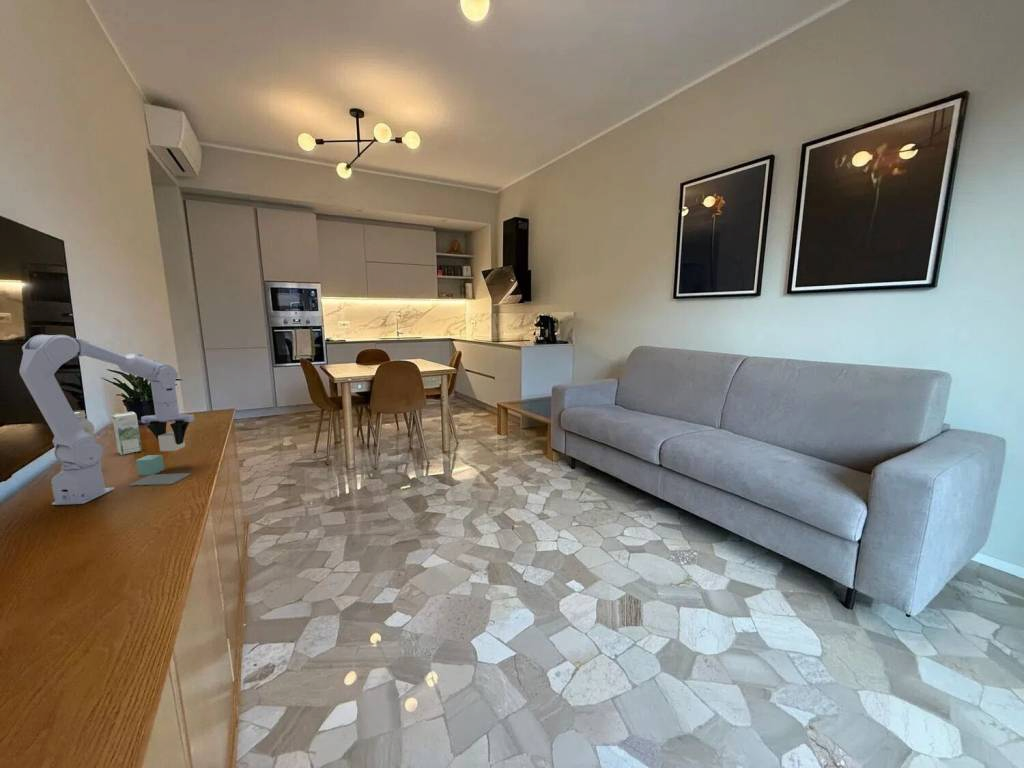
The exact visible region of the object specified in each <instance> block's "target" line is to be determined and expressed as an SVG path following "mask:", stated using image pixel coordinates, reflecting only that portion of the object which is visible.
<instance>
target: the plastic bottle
mask: <svg viewBox="0 0 1024 768" xmlns="http://www.w3.org/2000/svg"><path fill="white" fill-rule="evenodd" d="M73 412H74V414H75V416H76V418H77V420H78V422H79V424H80V425H81V427H82V429H83V430H84V431H85V432H86V433H88V434H89V435H90V436H91V437H92V439H93V441H94V442H95V425H94V423H93V422H91V421H90V420H89V419H87V418H86V417H87V415H86V412H85V410H83V409H82V410H81V409H79V410H73ZM101 463H102V462H101V461H100V464H101Z"/></svg>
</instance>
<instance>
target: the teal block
mask: <svg viewBox="0 0 1024 768" xmlns="http://www.w3.org/2000/svg"><path fill="white" fill-rule="evenodd" d="M163 457H164V456H163V454H154V455H153V454H152V455H151V454H149V455H148V454H147V455H146V456H143V457H142V456H141V457H140V458H138V459H135V463H136V469H137V475H138V476H149V475H151V474H156V473H157V474H159V473H160V471H161V472H163V471H165V470H164V469H165V464H164V458H163ZM162 470H163V471H162ZM158 472H159V473H158Z"/></svg>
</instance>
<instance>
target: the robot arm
mask: <svg viewBox="0 0 1024 768" xmlns="http://www.w3.org/2000/svg"><path fill="white" fill-rule="evenodd" d="M21 350H22V353H23V354H22V358H21V362H20V365H19V375H20V377H21V379H22V380H23V383H24V384H25V386H26V388H27V389H28V392H29V393H30V395H31V396H32V398H33V400H34V402H35V403H36V405H37V407H38V409H39V410H40V413H41V414H42V416H43V418H44V420H45V422H46V423H47V425H48V427H49V428H50V430H51V433H52V434H53V436H54V437H53V439H52V442H51V443H52V444H53V446H54V451H53V454H54V457H55V459H56V460H58V461H59V462H61V469H60V471H59V472H58V473H57V474H55V475H54V476H52V477H51V478H52V479H51V482H50V484H51V489H52V490H51V491H52V494H53V499H54V501H53V502H51V505H52V506H54V505H56V506H58V505H59V506H60V505H81V504H86V503H88V502H90V501H92V500H94V499H96V498H99V497H101V496H103V495H105V494H107V493H110V492H111V491H114V490H115V487H106V486H105V481H104V476H103V470H102V465H101V464H100V462H101V459H102V458H103V455H104V448H103V446H102V445H100V444H98V443H97V442H96V441H95V440H94V441H93V439H92V437H91V436H90V435H89V434H88V433H86V432H85V431H84V430H83V429H82V427H81V425H80V424H79V422H78V420H77V418H76V416H75V414H74V412H73V411H74V410H73V409H72V407H71V404H70V403H69V401H68V399H67V397H66V396H65V394H64V392H63V390H62V387H61V386H60V384H59V382H58V380H57V379H56V376H55V373H56V372H57V371H59V368H60V367H61V366H62V365H64V364H65V363H67V362H69V361H70V360H72V359H73V358H75V357H89V358H91V359H92V358H93V359H95V360H99V361H102V362H106V363H109V364H112V365H115V366H116V365H117V366H118V368H119V369H120V371H121V372H123V373H126V374H130V375H133V376H136V377H140V378H142V379H146V380H147V382H149V383H150V388H151V393H152V400H153V406H154V414H152V415H151V414H150V415H144V416H140V419H141V423H142V424H147V423H149V424H147V425H146V428H147V429H149V431H150V432H152V434H153V435H154V436H155V438H156V440H157V442H158V443H159V440H158V436H159V435H162V434H165V433H167V426H168V425H167V424H168V423H170V424H169V427H171V429H172V432H174V435H175V441H176V444H181V443H183V441H185V436H186V435H185V434H186V431H187V428H188V426H189V424H190V423H191V422H193V421H195V414H188V413H187V414H184V413H180V411H179V404H178V397H177V396H178V395H177V391H176V380H177V379H178V377H179V372H178V371H177V370H176V368H175V367H174V366H172V365H170V364H162V363H160V360H155V359H154V360H152V359H149V358H146V357H144V356H143V354H141V353H137V352H136V353H132V352H131V353H128V354H122V353H119V352H117V351H114V350H111V349H110V348H109V349H108V348H105V347H103V346H101V345H99V344H95V343H92V342H90V341H87V340H84V339H81V338H77V337H76V338H75V337H72V336H69V335H66V334H55V335H54V334H53V335H51V334H50V335H49V334H37V335H34V336H32V337H30V338H29V339H28V341H26V342H25V343H24V344H23V345H22V346H21ZM171 422H172V423H171Z"/></svg>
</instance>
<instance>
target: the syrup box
mask: <svg viewBox="0 0 1024 768" xmlns="http://www.w3.org/2000/svg"><path fill="white" fill-rule="evenodd" d="M111 421H112V425H113V432H114V438H115V439H114V440H115V445H116V451H117V453H118V454H119V453H120V455H121V456H125V454H126V455H130V454H129V453H131V454H135V453H134V452H136V453H139V451H140V452H142V451H143V450H142V441H141V436H140V431H139V430H140V427H139V421H138V416H137V413H136V412H134V411H125V412H119V413H113V414H111Z"/></svg>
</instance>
